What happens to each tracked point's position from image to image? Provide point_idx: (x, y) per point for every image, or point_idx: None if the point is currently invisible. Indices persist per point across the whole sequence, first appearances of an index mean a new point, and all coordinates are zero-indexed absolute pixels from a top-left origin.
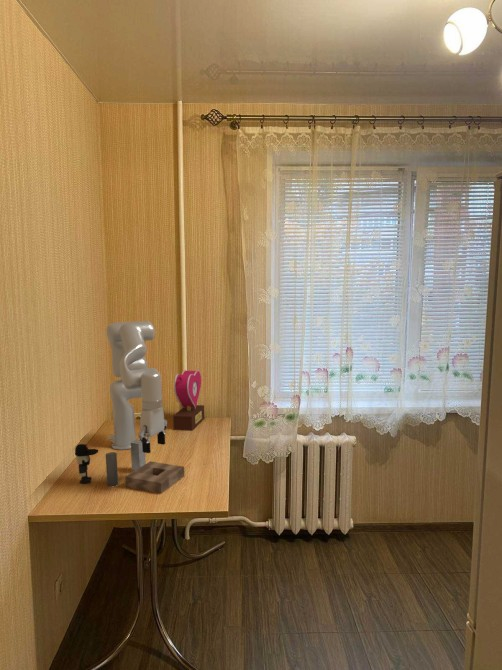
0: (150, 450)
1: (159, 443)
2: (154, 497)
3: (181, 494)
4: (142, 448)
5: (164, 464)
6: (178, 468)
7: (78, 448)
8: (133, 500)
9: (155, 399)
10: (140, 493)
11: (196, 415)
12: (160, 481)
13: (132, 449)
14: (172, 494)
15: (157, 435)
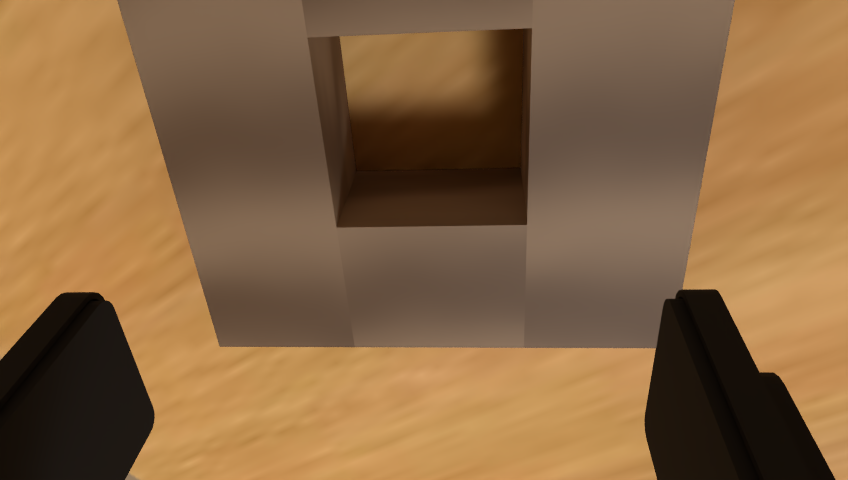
0: (138, 451)
1: (659, 343)
2: (168, 268)
3: (324, 404)
4: (15, 344)
5: (686, 108)
6: (604, 322)
7: None
8: (12, 146)
9: None
10: (142, 116)
11: None
12: (241, 327)
13: None
14: (289, 355)
15: (737, 477)
